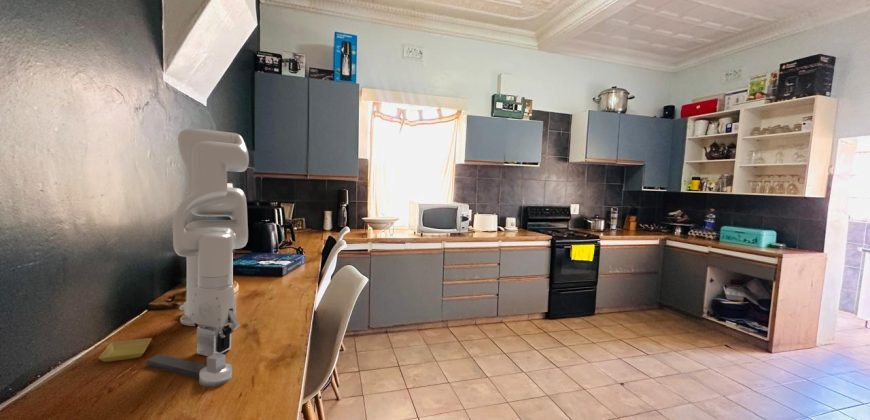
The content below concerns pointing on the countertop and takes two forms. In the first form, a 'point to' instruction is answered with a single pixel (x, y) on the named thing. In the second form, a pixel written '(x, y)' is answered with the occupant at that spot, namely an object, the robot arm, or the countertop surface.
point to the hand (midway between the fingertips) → (214, 347)
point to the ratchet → (196, 368)
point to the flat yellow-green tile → (125, 350)
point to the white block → (208, 340)
